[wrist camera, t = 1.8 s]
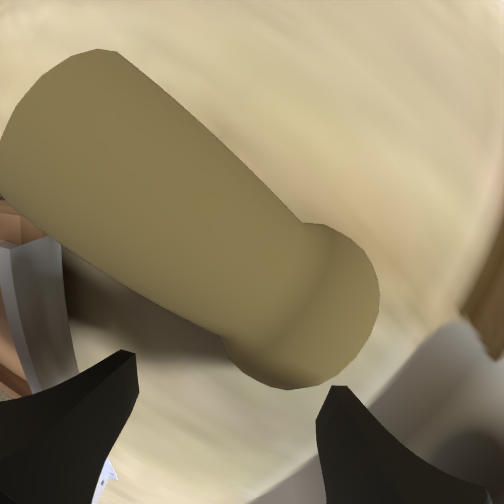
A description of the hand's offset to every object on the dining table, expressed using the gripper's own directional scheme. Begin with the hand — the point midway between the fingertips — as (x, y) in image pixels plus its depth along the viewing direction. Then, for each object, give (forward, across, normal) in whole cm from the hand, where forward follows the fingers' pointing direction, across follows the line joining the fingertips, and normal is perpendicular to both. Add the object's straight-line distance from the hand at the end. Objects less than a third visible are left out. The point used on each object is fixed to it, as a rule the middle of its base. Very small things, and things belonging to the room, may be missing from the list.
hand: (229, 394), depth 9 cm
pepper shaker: (0, +7, -8) cm, 11 cm away
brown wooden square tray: (+3, +13, 0) cm, 14 cm away
